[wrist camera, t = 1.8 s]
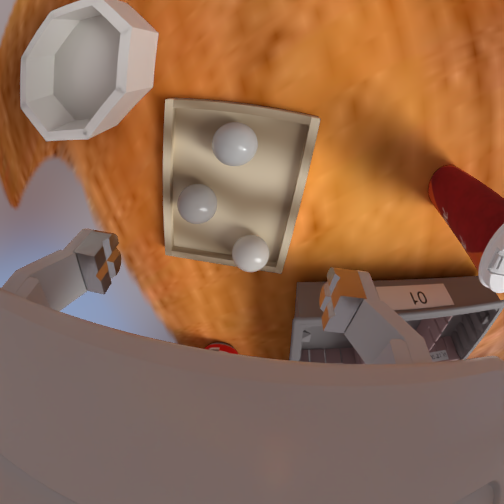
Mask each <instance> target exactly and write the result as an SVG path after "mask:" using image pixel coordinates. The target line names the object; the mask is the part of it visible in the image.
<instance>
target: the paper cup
mask: <svg viewBox="0 0 504 504" xmlns="http://www.w3.org/2000/svg"><path fill="white" fill-rule="evenodd" d="M428 193H429V197H430V200H431V202H432V203H433V205H434V206H435V207H436V209H437V210H438V212H439V213H440V214H441V216H442V217H443V218H444V220H445V221H446V223H447V224H448V225H449V227H450V228H451V230H452V231H453V233H454V234H455V236H456V237H457V238H458V240H459V241H460V243H461V244H462V246H463V247H464V249H465V251H466V252H467V254H468V255H469V257H470V259H471V260H472V262H473V263H474V265H475V267H476V268H477V270H478V275H479V280H480V282H481V283H482V284H483V285H484V286H485V287H487V288H490V289H491V290H492V291H493V292H496V293H503V292H504V198H503V197H501V196H500V195H499V194H497V193H496V192H494V191H493V190H492V189H490V188H489V187H487V186H486V185H484V184H483V183H482V182H480V181H479V180H477V179H476V178H474V177H472V176H471V175H469V174H468V173H466V172H464V171H463V170H461V169H459V168H457V167H455V166H452V165H446V166H443V167H441V168H439V169H438V170H437V171H436V172H435V173H434V174H433V176H432V178H431V180H430V183H429V188H428Z"/></svg>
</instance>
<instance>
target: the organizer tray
mask: <svg viewBox="0 0 504 504" xmlns="http://www.w3.org/2000/svg"><path fill="white" fill-rule="evenodd" d="M325 283H326V282H297V290H296V304H295V317H294V319H293V323H292V336H291V347H290V358H289V360H291V361H303V362H317V363H336V364H365V362H364V361H363V359H362V358H361V357H360V355H359V354H358V353H357V351H356V350H355V348H354V347H353V346H352V344H351V343H350V342H349V340H348V339H347V338H346V336H345V335H344V333H337V332H328V331H323V325H322V318H321V317H322V315H323V313H324V312H323V311H322V310H321V309H320V304H319V298H320V292H321V289H322V286H323V284H325ZM373 283H374V286H375V289H376V291H377V294H378V297H379V299H380V301H384V302H385V303H386V304H387V305H388V306H389V307H390V308H392V309H393V310H394V311H395V312H396V313H397V314H398V315H399V316H400V317H401V318H402V319H404V320H405V321H406V322H407V323H408V324H409V325H410V326H411V327H412V328H413V329H414V330H415V331H416V332H417V333H419V334H420V335H421V336H422V337H423V338H424V340H425V343H426V345H427V348H428V351H429V353H430V356H431V359H432V362H444V361H455V360H464V359H466V358H467V357H468V356H469V355H470V353H471V352H472V351H473V350H474V348H475V347H476V346H477V345H478V343H479V342H480V341H481V339H482V338H483V337H484V335H485V334H486V333H487V331H488V330H489V328H490V327H491V326H492V324H493V323H494V321H495V320H496V318H497V317H498V315H499V314H500V312H501V311H502V309H503V308H504V300H501V301H500V299H499V297H498V296H497V294H496V292H493V291H492V290H491V289H490V288H487V287H485V286H484V285H483V284H482V283H481V282H480V280H479V276H466V277H450V278H431V279H409V280H382V281H373Z"/></svg>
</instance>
